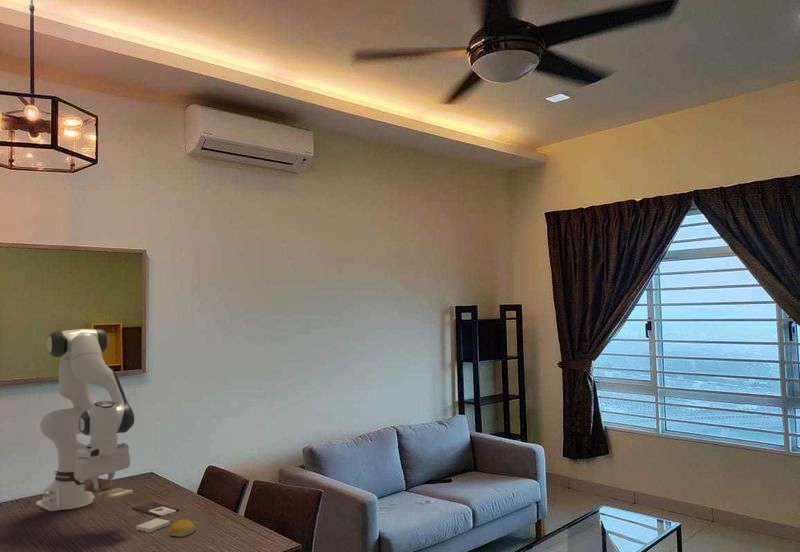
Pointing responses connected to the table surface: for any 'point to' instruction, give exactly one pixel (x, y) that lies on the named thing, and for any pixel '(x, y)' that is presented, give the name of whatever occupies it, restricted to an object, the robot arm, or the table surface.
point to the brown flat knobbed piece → (105, 488)
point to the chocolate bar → (155, 509)
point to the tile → (153, 525)
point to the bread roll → (182, 528)
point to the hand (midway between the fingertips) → (102, 487)
